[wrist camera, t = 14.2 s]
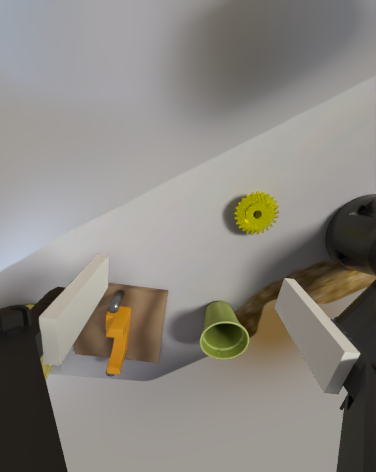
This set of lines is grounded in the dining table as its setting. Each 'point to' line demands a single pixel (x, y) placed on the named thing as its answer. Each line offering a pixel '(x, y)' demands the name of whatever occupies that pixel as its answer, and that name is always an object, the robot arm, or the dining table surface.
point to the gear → (261, 217)
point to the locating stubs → (116, 307)
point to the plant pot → (223, 332)
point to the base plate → (140, 330)
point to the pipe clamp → (118, 337)
